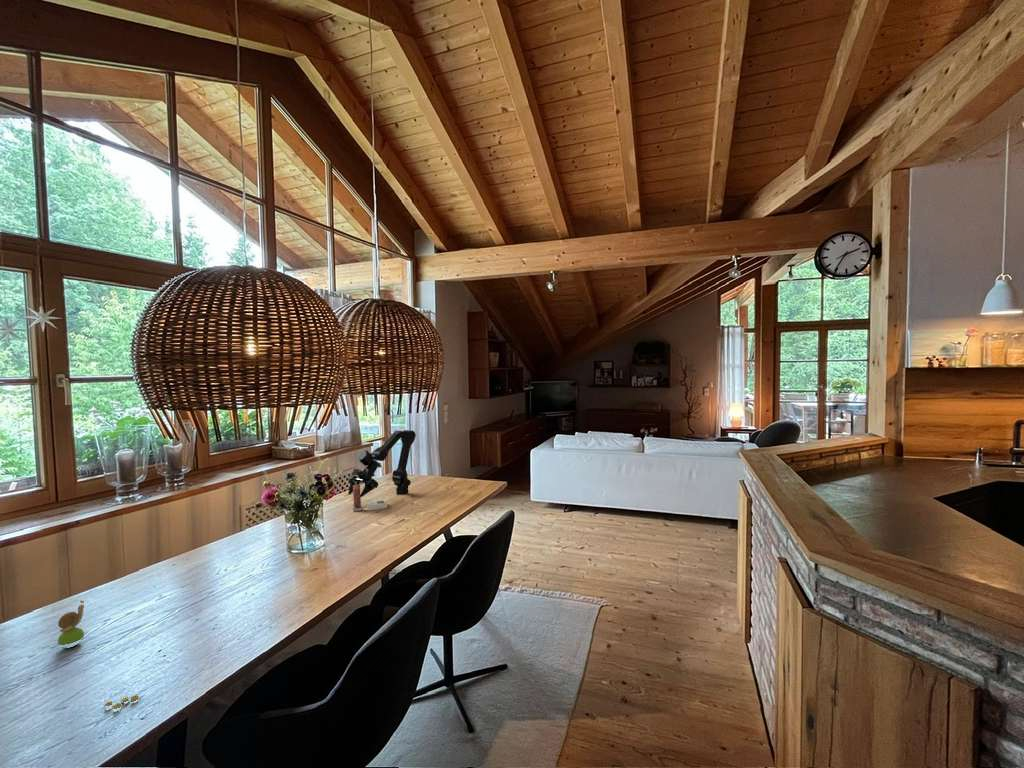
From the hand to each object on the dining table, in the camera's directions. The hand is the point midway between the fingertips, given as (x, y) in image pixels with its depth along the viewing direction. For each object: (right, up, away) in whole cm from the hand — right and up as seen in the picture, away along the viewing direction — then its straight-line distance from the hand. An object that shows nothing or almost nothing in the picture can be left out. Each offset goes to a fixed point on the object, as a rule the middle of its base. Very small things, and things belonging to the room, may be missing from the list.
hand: (354, 495), depth 238 cm
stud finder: (+10, -8, +6) cm, 14 cm away
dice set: (-10, -18, -131) cm, 132 cm away
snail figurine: (-45, -17, -107) cm, 117 cm away
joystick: (+1, -8, +2) cm, 9 cm away
